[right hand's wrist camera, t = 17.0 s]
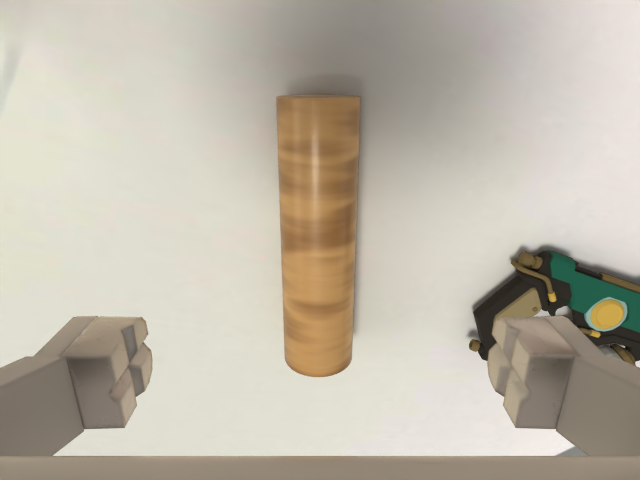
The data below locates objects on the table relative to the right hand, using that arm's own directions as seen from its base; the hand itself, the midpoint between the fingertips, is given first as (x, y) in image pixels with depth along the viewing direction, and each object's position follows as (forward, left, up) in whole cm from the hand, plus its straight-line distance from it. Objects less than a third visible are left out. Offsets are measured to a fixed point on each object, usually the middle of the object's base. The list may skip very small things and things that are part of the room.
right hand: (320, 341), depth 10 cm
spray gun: (+8, +27, -27) cm, 39 cm away
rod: (+7, +2, -27) cm, 28 cm away
